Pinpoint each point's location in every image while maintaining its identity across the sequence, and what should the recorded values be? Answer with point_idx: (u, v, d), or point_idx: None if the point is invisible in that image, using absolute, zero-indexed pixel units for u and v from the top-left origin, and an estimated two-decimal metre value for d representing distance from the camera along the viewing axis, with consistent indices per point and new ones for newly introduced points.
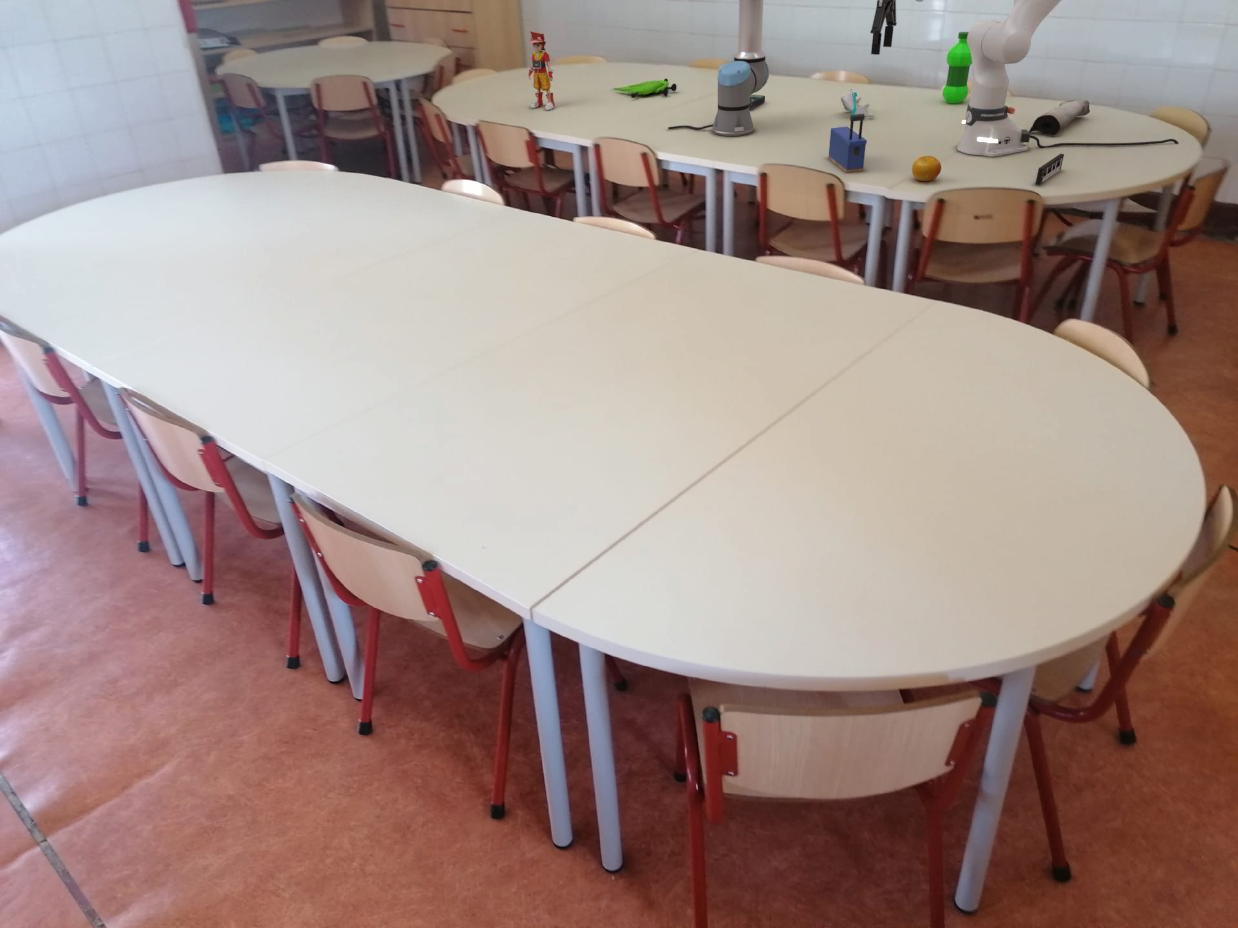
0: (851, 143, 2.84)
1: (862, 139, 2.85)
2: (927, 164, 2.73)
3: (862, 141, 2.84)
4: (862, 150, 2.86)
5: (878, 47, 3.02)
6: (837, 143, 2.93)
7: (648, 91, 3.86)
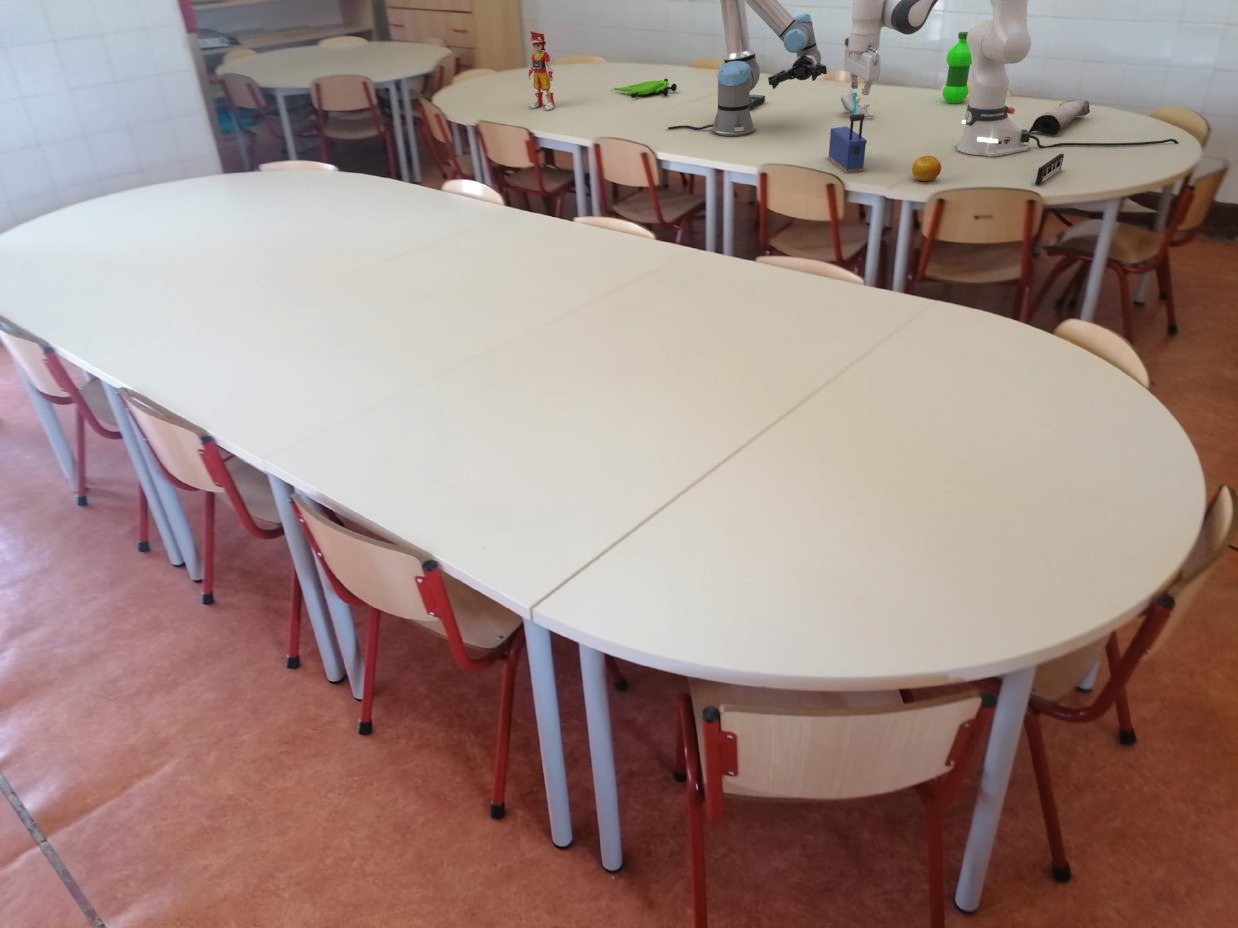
0: (851, 143, 2.84)
1: (862, 139, 2.85)
2: (927, 164, 2.73)
3: (862, 141, 2.84)
4: (862, 150, 2.86)
5: (815, 77, 3.03)
6: (837, 143, 2.93)
7: (648, 91, 3.86)
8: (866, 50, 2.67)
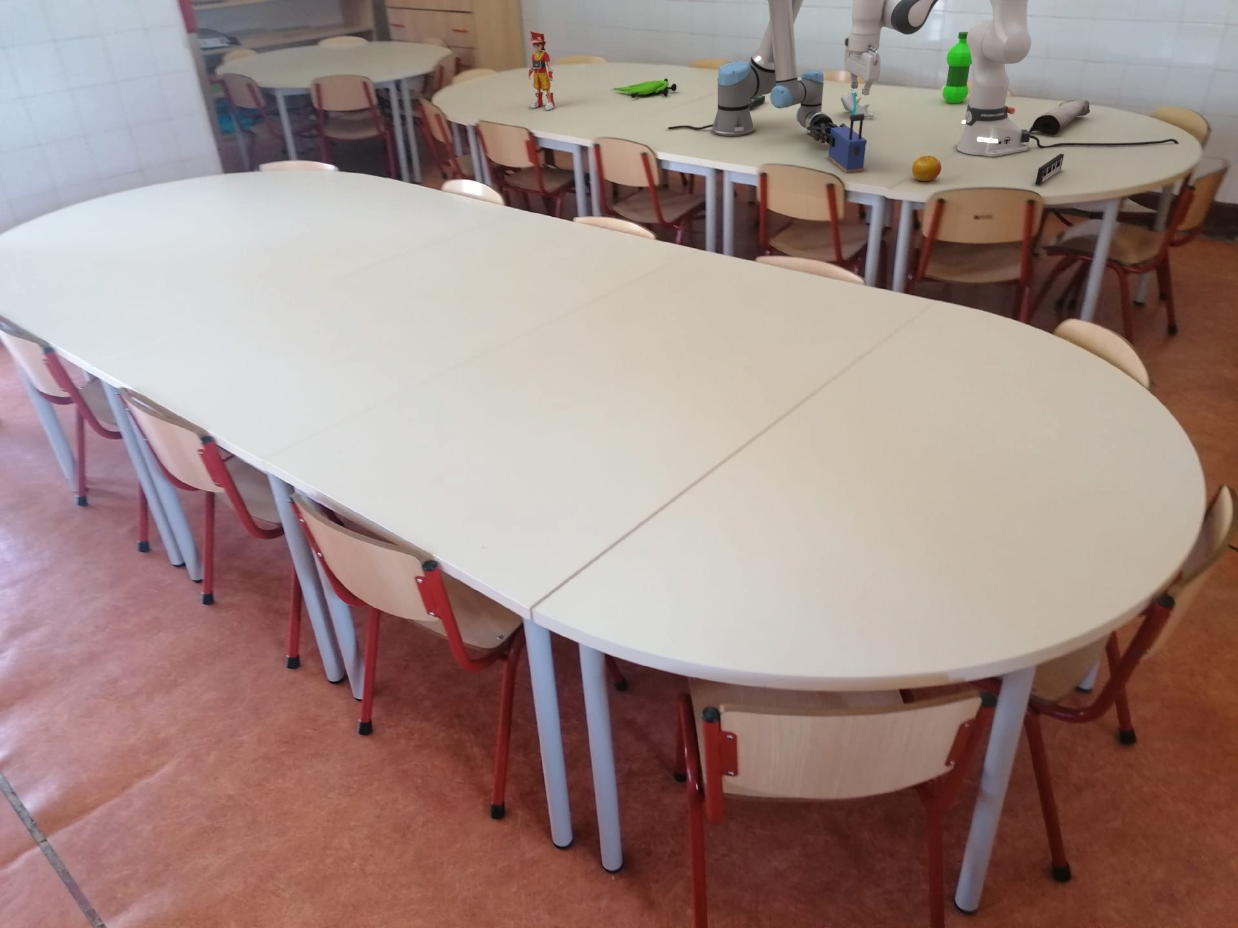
0: (851, 143, 2.84)
1: (862, 139, 2.85)
2: (927, 164, 2.73)
3: (862, 141, 2.84)
4: (862, 150, 2.86)
5: None
6: (837, 143, 2.93)
7: (648, 91, 3.86)
8: (866, 50, 2.67)
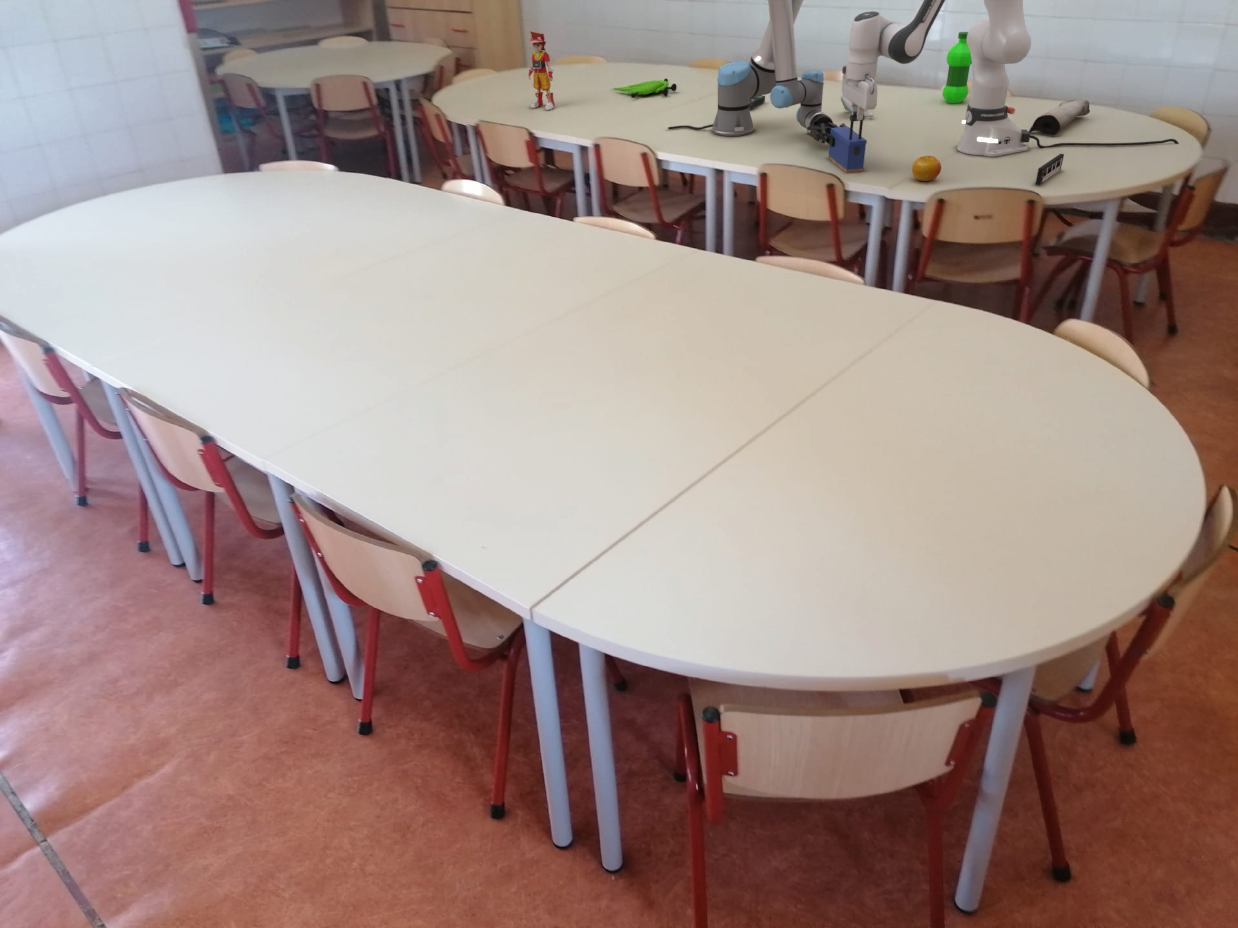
0: (851, 143, 2.84)
1: (862, 139, 2.85)
2: (927, 164, 2.73)
3: (862, 142, 2.84)
4: (862, 150, 2.86)
5: None
6: (837, 143, 2.93)
7: (648, 91, 3.86)
8: (863, 79, 2.71)
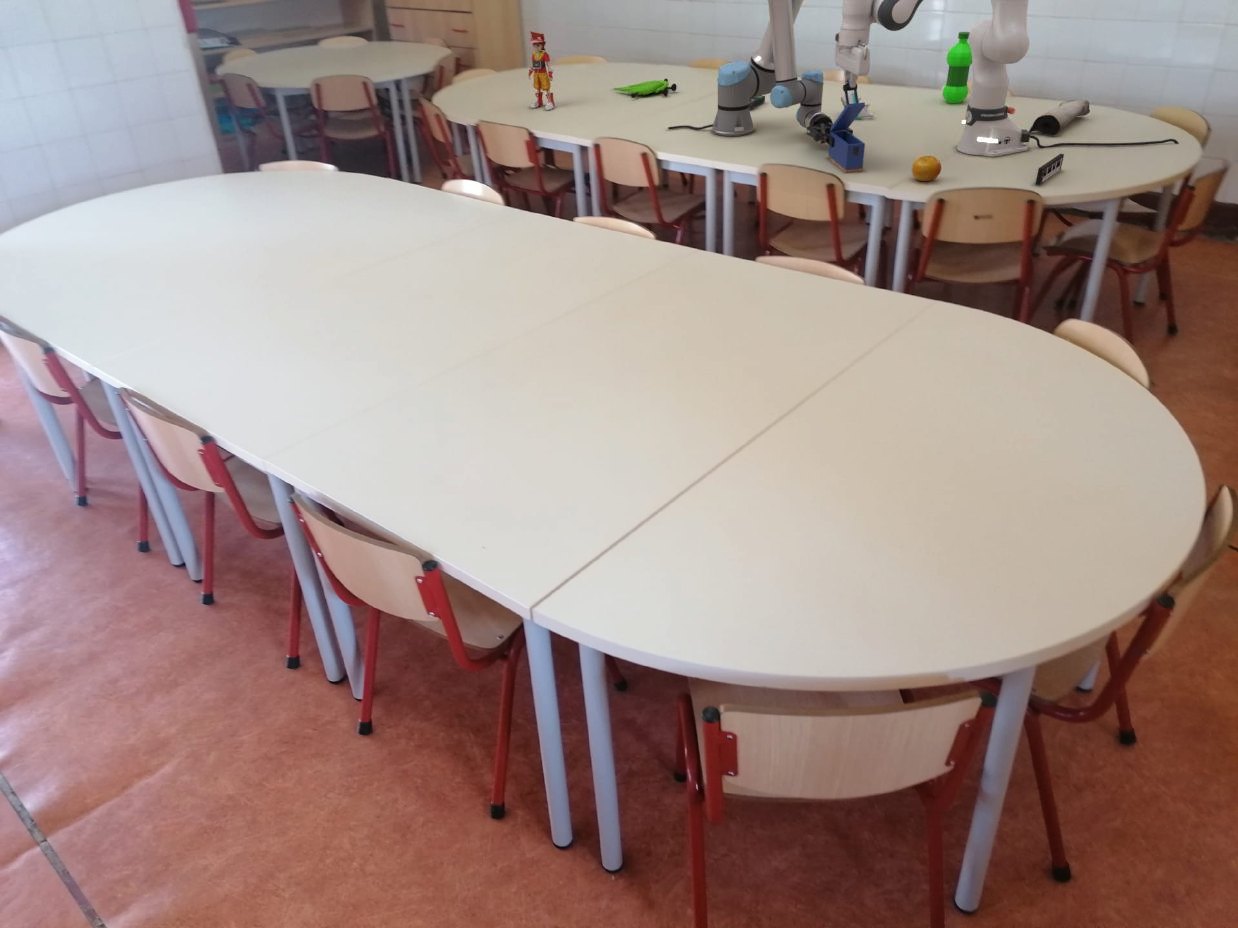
0: (849, 105, 2.81)
1: None
2: (927, 164, 2.73)
3: (860, 103, 2.81)
4: (862, 150, 2.86)
5: None
6: (836, 143, 2.93)
7: (648, 91, 3.86)
8: (856, 45, 2.73)
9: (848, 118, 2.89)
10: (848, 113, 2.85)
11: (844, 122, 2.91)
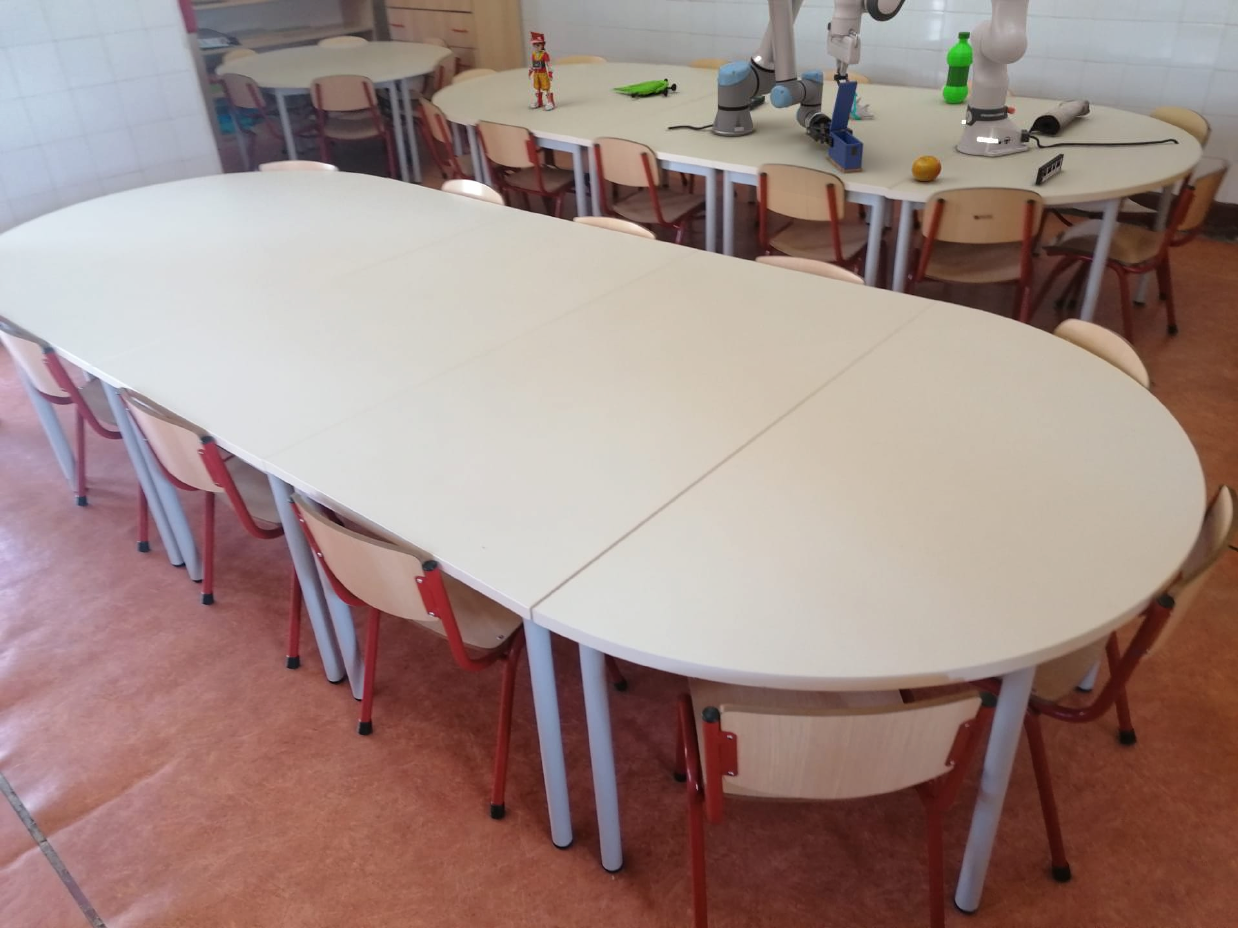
0: (841, 83, 2.83)
1: None
2: (927, 164, 2.73)
3: (852, 82, 2.83)
4: (860, 150, 2.86)
5: None
6: (836, 143, 2.93)
7: (648, 91, 3.86)
8: (847, 34, 2.78)
9: (844, 107, 2.90)
10: (843, 96, 2.87)
11: (841, 113, 2.92)
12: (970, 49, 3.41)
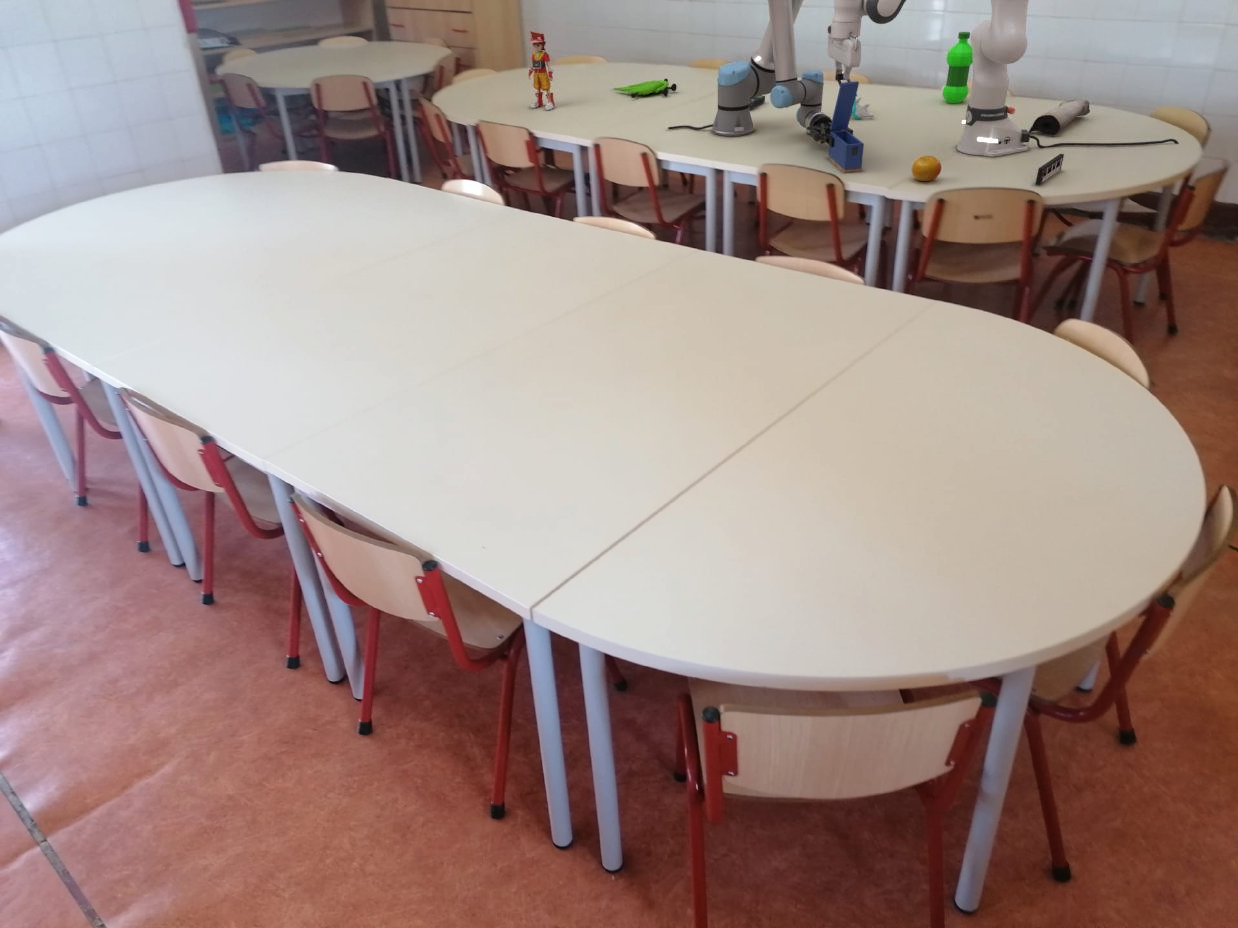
0: (843, 83, 2.83)
1: None
2: (927, 164, 2.73)
3: (854, 82, 2.83)
4: (860, 150, 2.86)
5: None
6: (836, 143, 2.93)
7: (648, 91, 3.86)
8: (847, 37, 2.79)
9: (845, 107, 2.90)
10: (844, 96, 2.87)
11: (842, 113, 2.92)
12: (970, 49, 3.41)
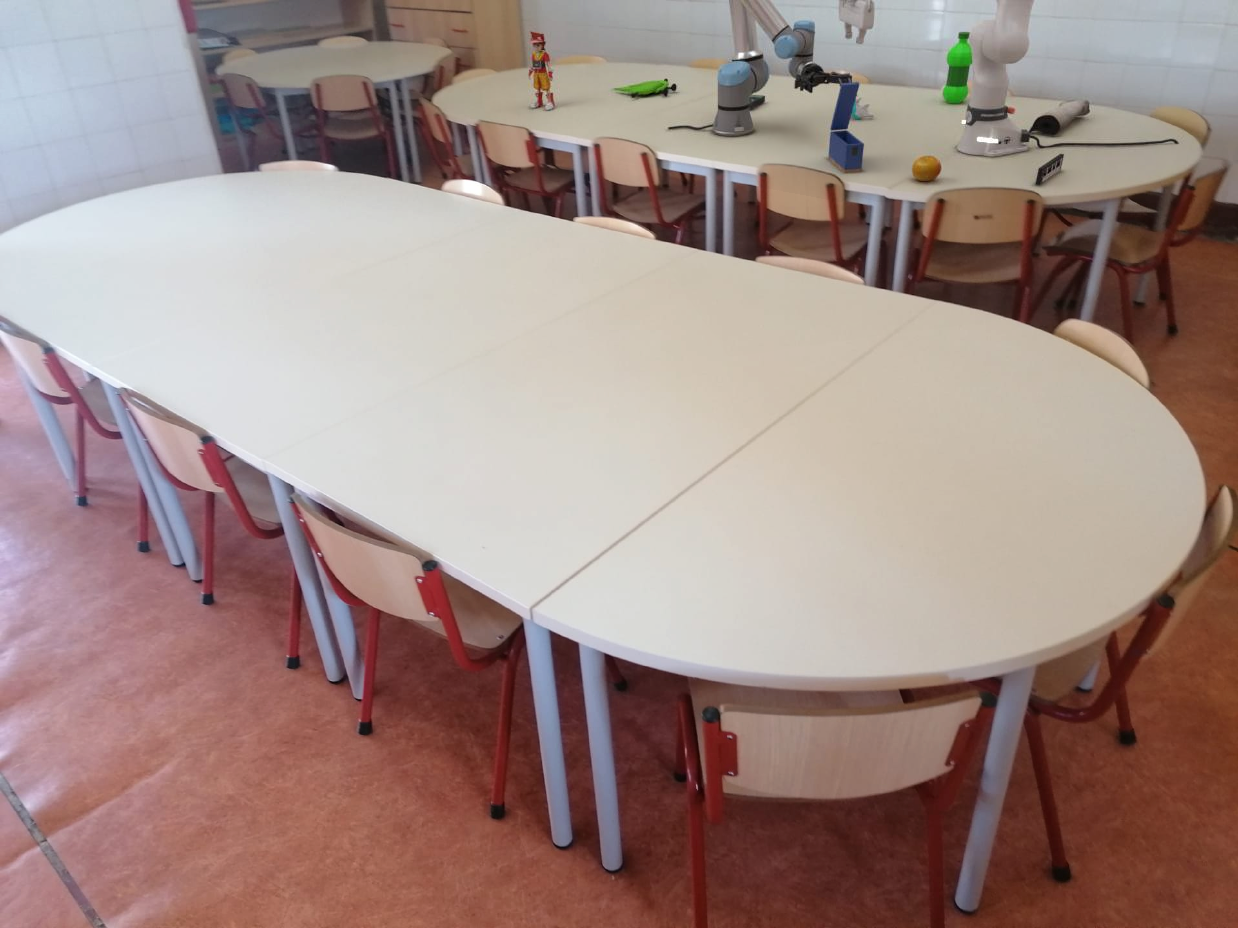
0: (843, 84, 2.83)
1: None
2: (927, 164, 2.73)
3: (854, 83, 2.83)
4: (861, 150, 2.86)
5: None
6: (836, 143, 2.93)
7: (648, 91, 3.86)
8: None
9: (845, 107, 2.90)
10: (844, 97, 2.86)
11: (842, 113, 2.92)
12: (970, 49, 3.41)
